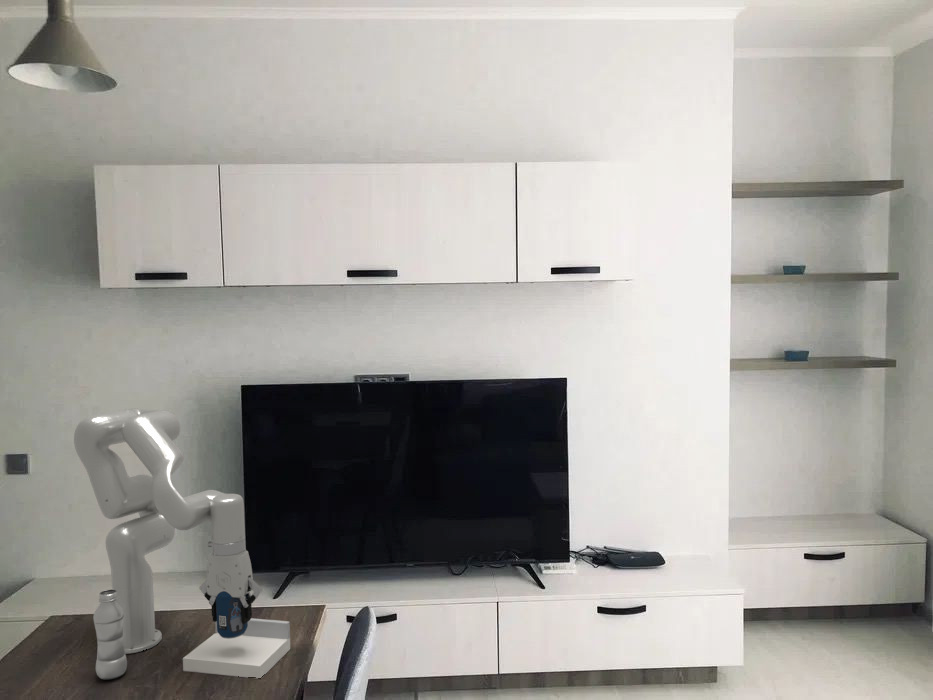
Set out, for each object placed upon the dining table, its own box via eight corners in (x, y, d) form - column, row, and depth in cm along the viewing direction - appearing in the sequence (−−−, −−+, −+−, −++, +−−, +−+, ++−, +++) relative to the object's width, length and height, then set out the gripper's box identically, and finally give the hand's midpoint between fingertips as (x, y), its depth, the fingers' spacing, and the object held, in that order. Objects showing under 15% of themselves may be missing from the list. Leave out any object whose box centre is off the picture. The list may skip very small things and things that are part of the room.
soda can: (230, 625, 176) (228, 577, 176) (254, 629, 174) (251, 580, 173) (211, 637, 170) (208, 587, 169) (234, 641, 167) (232, 590, 167)
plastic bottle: (115, 684, 164) (111, 598, 163) (89, 682, 165) (85, 596, 164) (133, 670, 170) (130, 587, 169) (108, 668, 171) (105, 586, 170)
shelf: (183, 670, 170) (182, 641, 169) (218, 642, 184) (217, 615, 184) (260, 678, 165) (259, 649, 165) (290, 648, 180) (289, 621, 180)
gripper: (186, 550, 169) (190, 624, 170) (254, 553, 165) (257, 629, 166) (205, 540, 176) (208, 611, 177) (270, 543, 173) (272, 616, 173)
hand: (232, 619), depth 172 cm, fingers closed on soda can, 7 cm apart
